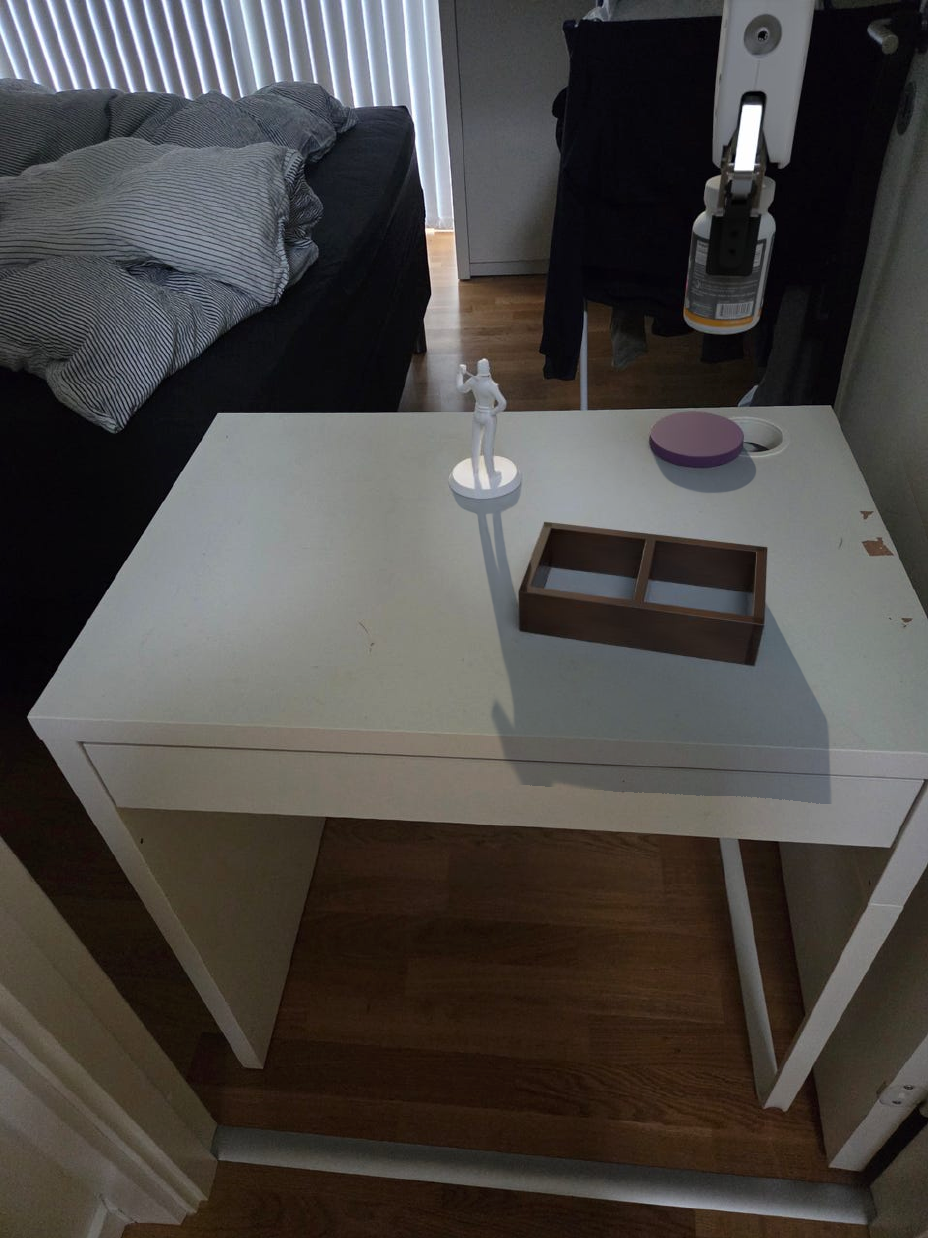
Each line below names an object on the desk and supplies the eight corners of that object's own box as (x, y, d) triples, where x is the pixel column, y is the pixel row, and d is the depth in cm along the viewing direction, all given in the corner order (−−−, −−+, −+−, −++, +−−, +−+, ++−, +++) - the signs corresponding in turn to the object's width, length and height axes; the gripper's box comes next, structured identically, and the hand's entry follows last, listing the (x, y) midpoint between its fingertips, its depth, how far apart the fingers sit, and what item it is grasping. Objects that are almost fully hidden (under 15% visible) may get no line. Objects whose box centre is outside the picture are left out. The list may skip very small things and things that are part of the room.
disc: (744, 425, 86) (746, 414, 85) (740, 472, 79) (741, 460, 79) (654, 418, 88) (655, 407, 87) (643, 462, 82) (644, 452, 81)
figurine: (536, 473, 81) (536, 355, 73) (489, 507, 78) (483, 386, 70) (480, 451, 85) (474, 336, 77) (433, 482, 81) (421, 365, 73)
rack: (758, 587, 67) (767, 546, 64) (754, 666, 60) (764, 624, 58) (544, 560, 71) (544, 521, 69) (519, 631, 65) (518, 591, 62)
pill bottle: (700, 302, 68) (717, 167, 61) (770, 315, 65) (795, 174, 59) (670, 328, 65) (684, 188, 58) (742, 342, 62) (766, 197, 55)
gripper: (851, -47, 43) (784, 306, 55) (835, -71, 55) (783, 222, 67) (700, -39, 45) (666, 301, 57) (717, -64, 57) (686, 220, 69)
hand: (730, 255), depth 62 cm, fingers closed on pill bottle, 5 cm apart
